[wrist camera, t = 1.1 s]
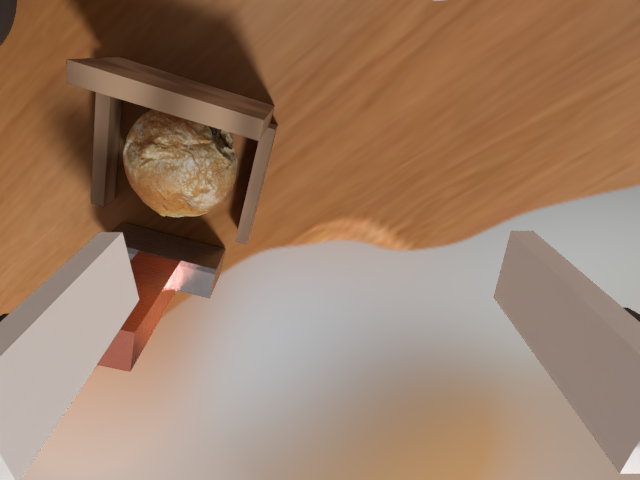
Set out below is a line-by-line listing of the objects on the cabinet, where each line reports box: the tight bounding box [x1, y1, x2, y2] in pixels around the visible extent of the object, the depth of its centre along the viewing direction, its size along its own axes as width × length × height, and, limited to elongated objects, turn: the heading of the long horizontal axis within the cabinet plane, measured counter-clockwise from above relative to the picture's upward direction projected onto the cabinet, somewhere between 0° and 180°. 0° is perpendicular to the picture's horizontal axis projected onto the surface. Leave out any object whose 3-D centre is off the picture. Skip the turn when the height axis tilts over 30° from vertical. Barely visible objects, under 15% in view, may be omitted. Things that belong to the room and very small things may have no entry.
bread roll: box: [123, 109, 237, 218], centre depth 35 cm, size 10×10×8 cm
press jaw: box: [97, 222, 225, 372], centre depth 36 cm, size 11×4×15 cm, turn 73°
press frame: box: [67, 57, 278, 244], centre depth 34 cm, size 15×14×8 cm
